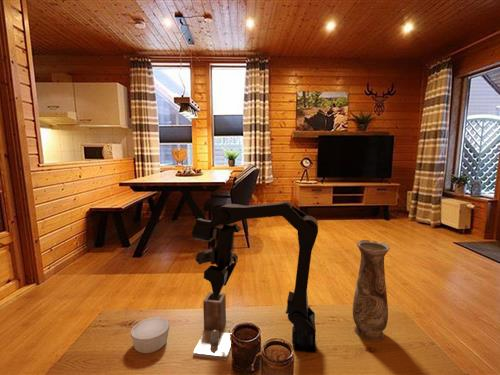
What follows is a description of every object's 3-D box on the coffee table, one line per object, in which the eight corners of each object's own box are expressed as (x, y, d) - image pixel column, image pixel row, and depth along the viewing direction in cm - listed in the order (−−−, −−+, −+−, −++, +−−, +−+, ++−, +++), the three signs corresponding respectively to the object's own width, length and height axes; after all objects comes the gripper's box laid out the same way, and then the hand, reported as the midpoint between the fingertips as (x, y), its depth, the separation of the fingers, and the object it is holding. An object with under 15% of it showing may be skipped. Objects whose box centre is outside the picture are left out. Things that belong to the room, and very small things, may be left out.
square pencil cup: (225, 320, 93) (225, 293, 92) (221, 331, 87) (220, 302, 86) (209, 318, 94) (209, 292, 93) (203, 329, 88) (203, 301, 87)
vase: (386, 327, 88) (390, 241, 85) (387, 348, 79) (392, 251, 76) (353, 320, 93) (355, 237, 90) (350, 338, 83) (354, 246, 80)
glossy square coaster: (234, 336, 84) (234, 322, 84) (226, 360, 74) (226, 343, 74) (204, 333, 86) (204, 319, 85) (193, 355, 76) (192, 339, 75)
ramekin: (133, 336, 85) (132, 320, 84) (169, 328, 89) (168, 314, 88) (129, 360, 74) (128, 343, 74) (170, 351, 78) (170, 334, 78)
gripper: (209, 234, 94) (206, 276, 95) (188, 247, 76) (184, 300, 77) (240, 238, 92) (235, 281, 93) (226, 253, 74) (221, 307, 75)
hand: (220, 291), depth 84 cm, fingers open, 9 cm apart
